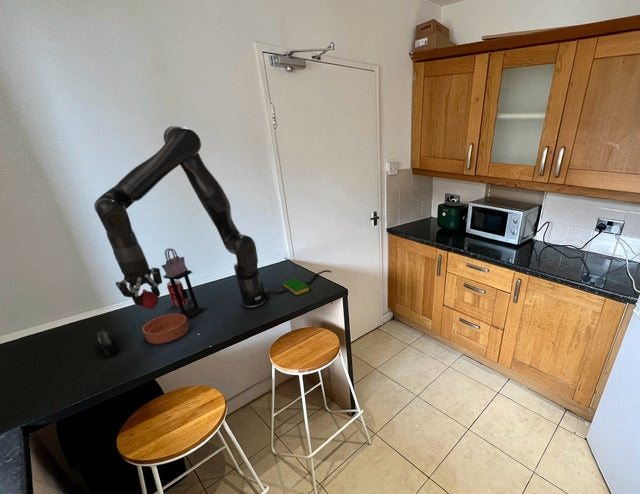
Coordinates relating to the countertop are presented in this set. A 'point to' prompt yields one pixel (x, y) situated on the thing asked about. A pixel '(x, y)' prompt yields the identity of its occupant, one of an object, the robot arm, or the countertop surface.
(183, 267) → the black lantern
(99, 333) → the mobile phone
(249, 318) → the countertop surface
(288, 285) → the dish sponge
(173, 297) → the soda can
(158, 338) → the bowl
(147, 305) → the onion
